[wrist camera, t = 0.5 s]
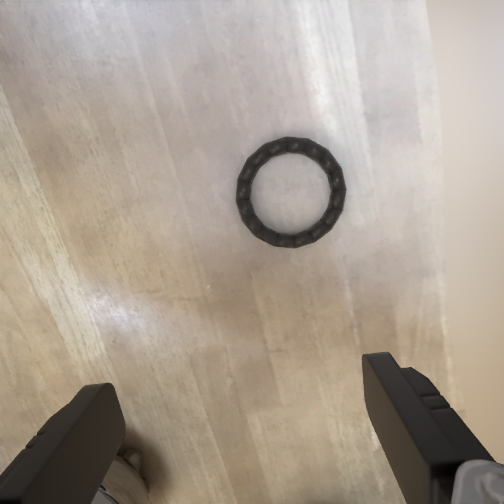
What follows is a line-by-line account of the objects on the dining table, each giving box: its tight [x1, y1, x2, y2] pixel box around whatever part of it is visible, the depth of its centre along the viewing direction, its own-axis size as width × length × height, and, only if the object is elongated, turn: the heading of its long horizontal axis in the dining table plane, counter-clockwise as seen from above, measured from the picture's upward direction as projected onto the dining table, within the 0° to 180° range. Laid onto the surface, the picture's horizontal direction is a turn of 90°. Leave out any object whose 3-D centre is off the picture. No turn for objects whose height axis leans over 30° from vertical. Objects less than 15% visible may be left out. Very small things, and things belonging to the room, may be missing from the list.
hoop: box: [236, 137, 346, 248], centre depth 26 cm, size 9×9×1 cm
